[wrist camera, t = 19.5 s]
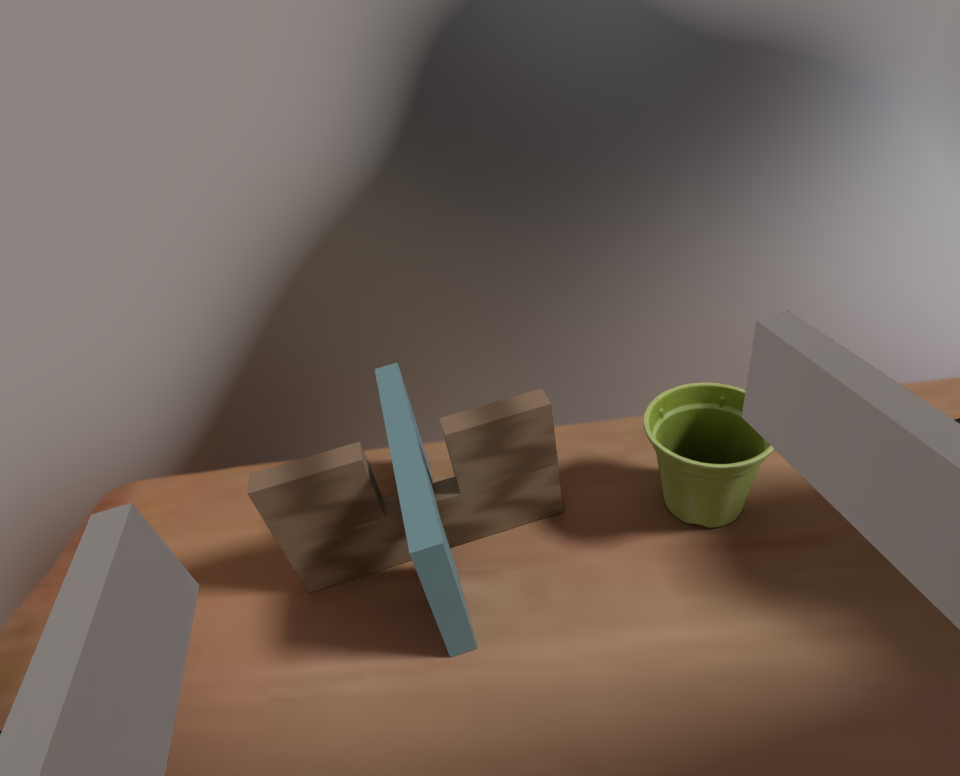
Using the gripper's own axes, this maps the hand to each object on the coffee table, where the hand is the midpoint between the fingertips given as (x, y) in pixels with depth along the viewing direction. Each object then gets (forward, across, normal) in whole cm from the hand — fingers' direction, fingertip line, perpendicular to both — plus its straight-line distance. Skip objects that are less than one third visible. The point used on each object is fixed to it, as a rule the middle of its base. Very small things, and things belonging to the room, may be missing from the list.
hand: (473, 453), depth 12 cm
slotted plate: (+22, -3, -30) cm, 38 cm away
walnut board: (+23, -3, -30) cm, 38 cm away
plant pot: (+19, +19, -30) cm, 40 cm away
